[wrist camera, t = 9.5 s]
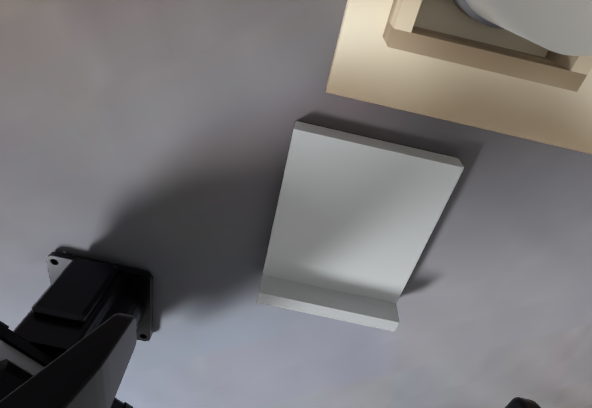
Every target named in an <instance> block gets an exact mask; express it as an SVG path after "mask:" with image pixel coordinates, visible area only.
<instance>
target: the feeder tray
mask: <svg viewBox="0 0 592 408" xmlns="http://www.w3.org/2000/svg"><path fill="white" fill-rule="evenodd" d="M463 169H464V167H463V165H462V163H461V161H460V160H459V158H455V157H451V156H447V155H442V154H438V153H434V152H429V151H425V150H421V149H416V148H412V147H408V146H403V145H399V144H394V143H390V142H386V141H381V140H377V139H373V138H368V137H364V136H360V135H355V134H351V133H347V132H342V131H338V130H334V129H329V128H325V127H321V126H316V125H312V124H307V123H303V122H299V121H296V122H295V126H294V130H293V134H292V139H291V144H290V148H289V153H288V158H287V162H286V167H285V172H284V176H283V181H282V186H281V190H280V195H279V200H278V204H277V209H276V214H275V218H274V223H273V228H272V232H271V237H270V242H269V246H268V251H267V256H266V260H265V265H264V270H263V274H262V279H261V283H260V287H259V291H258V296H257V301H256V302H257V303H262V304H267V305H271V306H276V307H281V308H285V309H290V310H295V311H299V312H304V313H309V314H314V315H318V316H323V317H328V318H332V319H337V320H342V321H346V322H351V323H356V324H360V325H365V326H370V327H374V328H379V329H384V330H388V331H393V332H395V330H396V328H397V326H398V324H399V318H398V312H397V306H396V303H397V301H398V299H399V297H400V295H401V293H402V291H403V289H404V287H405V285H406V283H407V281H408V279H409V277H410V275H411V273H412V271H413V269H414V267H415V265H416V263H417V261H418V259H419V257H420V255H421V253H422V251H423V249H424V247H425V245H426V243H427V241H428V239H429V237H430V235H431V233H432V231H433V229H434V227H435V225H436V223H437V221H438V219H439V217H440V215H441V213H442V211H443V209H444V207H445V205H446V203H447V201H448V199H449V197H450V195H451V193H452V191H453V189H454V187H455V185H456V183H457V181H458V179H459V177H460V175H461V173H462V171H463Z"/></svg>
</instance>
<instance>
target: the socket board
mask: <svg viewBox="0 0 592 408" xmlns="http://www.w3.org/2000/svg"><path fill="white" fill-rule="evenodd" d="M326 92H327V93H331V94H335V95H340V96H344V97H348V98H353V99H357V100H361V101H365V102H370V103H374V104H378V105H383V106H387V107H391V108H395V109H400V110H404V111H408V112H413V113H417V114H421V115H426V116H430V117H434V118H438V119H443V120H447V121H451V122H456V123H460V124H464V125H468V126H473V127H477V128H481V129H486V130H490V131H494V132H499V133H503V134H507V135H511V136H516V137H520V138H524V139H529V140H533V141H537V142H541V143H546V144H550V145H554V146H559V147H563V148H567V149H571V150H576V151H580V152H584V153H589V154H592V55H588V56H569V55H563V54H559V53H556V52H553V51H550V50H548V49H546V48H544V47H541V46H539V45H537V44H535V43H533V42H531V41H529V40H527V39H525V38H523V37H521V36H519V35H516V34H514V33H512V32H510V31H508V30H506V29H498V28H492V27H489V26H486V25H484V24H482V23H480V22H478V21H476V20H474V19H472V18H470V17H468V16H467V15H466V14H464V13H463V12H462V11H461V10H460V9H459V8H458V7H457V6H456V4H455V3H454V1H453V0H347V3H346V8H345V12H344V16H343V20H342V24H341V28H340V32H339V36H338V40H337V44H336V48H335V52H334V56H333V60H332V64H331V68H330V72H329V76H328V80H327V85H326Z"/></svg>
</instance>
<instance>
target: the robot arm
mask: <svg viewBox="0 0 592 408" xmlns="http://www.w3.org/2000/svg"><path fill="white" fill-rule="evenodd" d="M46 262H47V267H48V272H49V277H50V282H51V285H50V287H49V288H48V289H47V290H46V291H45V292H44V294H43V295H42V296H41V297H40V298H39V299H38V301H37V302H36V303H35V304H34V305H33V307H32V310H31V311H30V312H29V313H28V314H27V316H26V317H25V318H24V319H23V320H22V321H21V323H20V324H19V325H18V326H17V327H16V329H15V330H14V331H11V330H10V329H8V328H9V326H7V325H6V324H4V323H3V322H1V321H0V408H133V407H132V406H131V405H129V404H128V403H126V402H125V403H123V402H121V401H120V400H118V399H117V398H115V395H116V393H117V390H118V388H119V385H120V383H121V380H122V378H123V375H124V373H125V370H126V368H127V365H128V363H129V360H130V358H131V355H132V353H133V350H134V348H135V345H136V339H137V340H142V341H148V340H150V338H151V336H152V333H153V278H152V275H151V274H150V273H149V272H147V271H144V270H140V269H135V268H130V267H126V266H121V265H116V264H112V263H107V262H102V261H98V260H93V259H88V258H84V257H79V256H74V255H70V254H65V253H60V252H52V253H51V254H50V255H49V256H48V257H47V258H46ZM143 278H144V279H143ZM505 408H541V407H540V406H539V405H538V404H537V403H536V402H534V401H532V400H529V399H524V398H520V397H516V398H514V399H512V400H511V402H510V403H509V404H508V405H507V406H506V407H505Z"/></svg>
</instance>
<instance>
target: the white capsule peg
mask: <svg viewBox="0 0 592 408" xmlns="http://www.w3.org/2000/svg"><path fill="white" fill-rule="evenodd" d="M453 1H454V3H455V4H456V6H457V7H458V8H459V9H460V10H461V11H462V12H463V13H464V14H466V15H467V16H468V17H470V18H472V19H474V20H476V21H478V22H480V23H482V24H484V25H486V26H489V27H492V28H498V29H506V30H508V31H510V32H512V33H514V34H516V35H519V36H521V37H523V38H525V39H527V40H529V41H531V42H533V43H535V44H537V45H539V46H541V47H544V48H546V49H548V50H550V51H553V52H556V53H559V54H563V55H569V56H588V55H592V0H453Z"/></svg>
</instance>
